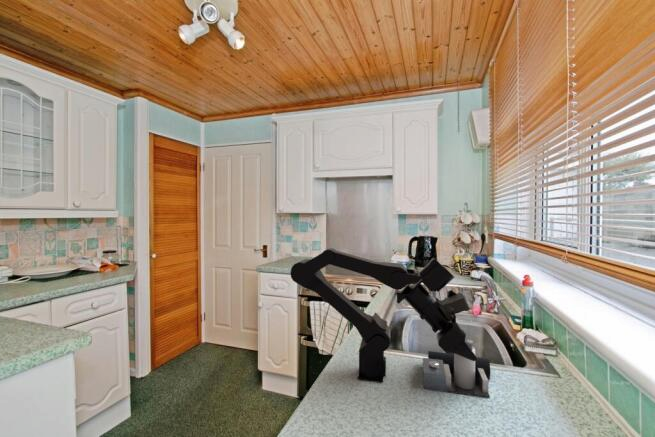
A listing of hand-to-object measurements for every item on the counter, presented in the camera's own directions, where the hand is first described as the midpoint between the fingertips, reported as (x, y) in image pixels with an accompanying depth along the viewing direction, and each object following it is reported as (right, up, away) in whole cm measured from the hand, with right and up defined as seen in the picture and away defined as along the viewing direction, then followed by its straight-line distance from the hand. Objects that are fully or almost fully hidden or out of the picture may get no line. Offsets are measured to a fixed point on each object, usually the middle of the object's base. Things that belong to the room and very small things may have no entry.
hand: (471, 351), depth 76 cm
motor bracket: (-4, -9, +1) cm, 10 cm away
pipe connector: (+1, -9, +10) cm, 13 cm away
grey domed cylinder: (-1, -8, 0) cm, 8 cm away
